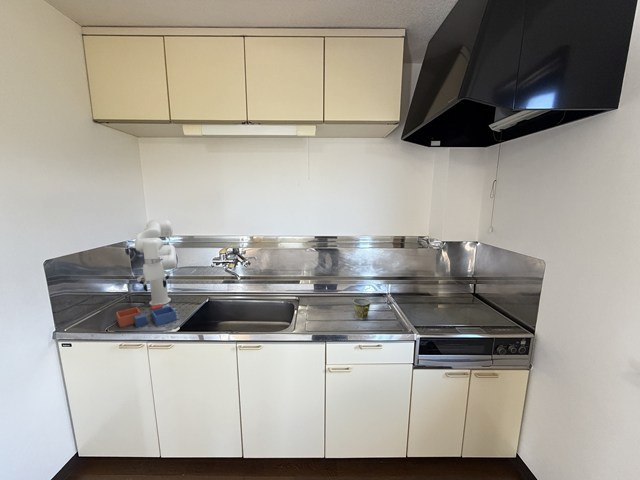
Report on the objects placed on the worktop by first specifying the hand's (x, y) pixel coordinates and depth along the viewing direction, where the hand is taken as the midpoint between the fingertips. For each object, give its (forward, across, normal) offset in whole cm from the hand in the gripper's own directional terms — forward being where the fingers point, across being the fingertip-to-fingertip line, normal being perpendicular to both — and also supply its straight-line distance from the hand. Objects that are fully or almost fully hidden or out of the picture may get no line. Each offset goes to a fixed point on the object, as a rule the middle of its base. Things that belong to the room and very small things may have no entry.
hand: (155, 288), depth 161 cm
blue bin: (+16, -1, +10) cm, 19 cm away
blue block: (+16, +10, +7) cm, 21 cm away
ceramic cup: (+17, -85, +89) cm, 124 cm away
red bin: (+16, +14, -2) cm, 22 cm away
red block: (+16, 0, -1) cm, 16 cm away
